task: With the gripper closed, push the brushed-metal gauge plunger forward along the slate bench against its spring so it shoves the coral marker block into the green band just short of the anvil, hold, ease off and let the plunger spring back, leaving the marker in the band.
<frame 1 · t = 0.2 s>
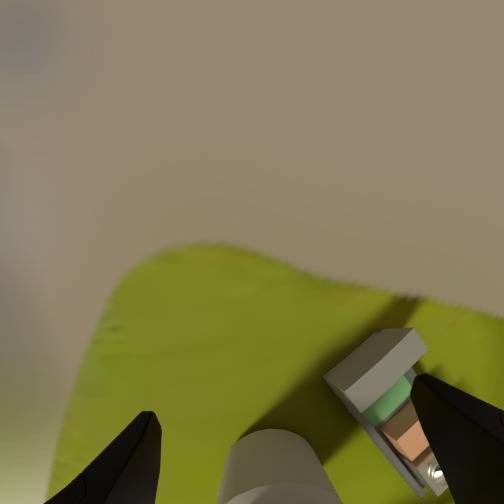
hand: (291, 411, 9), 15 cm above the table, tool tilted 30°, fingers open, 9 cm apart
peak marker: (404, 423, 21), resting on gauge bench
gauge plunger: (437, 459, 18), point 3 cm above the table, slide at 0.0 cm
gauge bench: (402, 423, 21), on the table
can: (270, 462, 21), on the table
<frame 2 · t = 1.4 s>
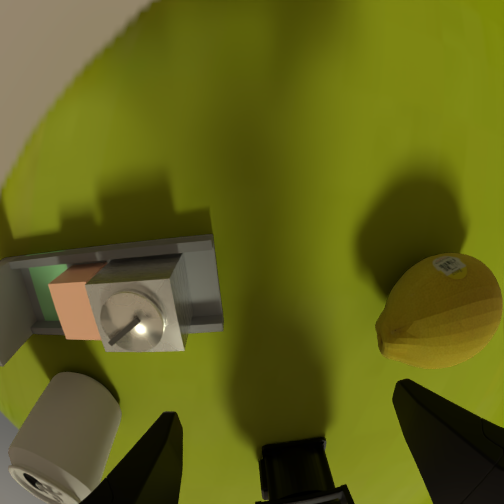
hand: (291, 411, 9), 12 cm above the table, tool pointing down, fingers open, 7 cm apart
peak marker: (95, 290, 20), resting on gauge bench
lemon: (414, 286, 22), on the table
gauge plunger: (142, 304, 17), point 3 cm above the table, slide at 0.0 cm
gauge bench: (97, 288, 20), on the table
can: (88, 395, 23), on the table
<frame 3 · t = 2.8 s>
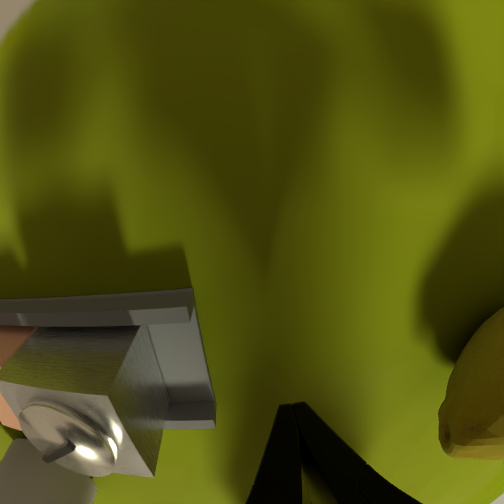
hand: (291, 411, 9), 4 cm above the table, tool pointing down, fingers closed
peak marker: (34, 356, 11), resting on gauge bench
lemon: (477, 339, 13), on the table
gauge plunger: (85, 401, 9), point 3 cm above the table, slide at 0.0 cm
gauge bench: (36, 353, 12), on the table
can: (56, 460, 15), on the table
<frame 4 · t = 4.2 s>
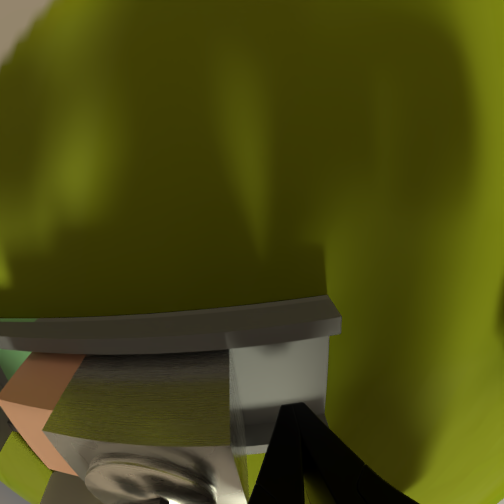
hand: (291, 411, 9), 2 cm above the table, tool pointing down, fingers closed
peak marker: (82, 385, 10), resting on gauge bench
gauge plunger: (160, 441, 8), point 3 cm above the table, slide at 1.4 cm, touching gripper
gauge bench: (101, 382, 11), on the table
can: (103, 488, 14), on the table
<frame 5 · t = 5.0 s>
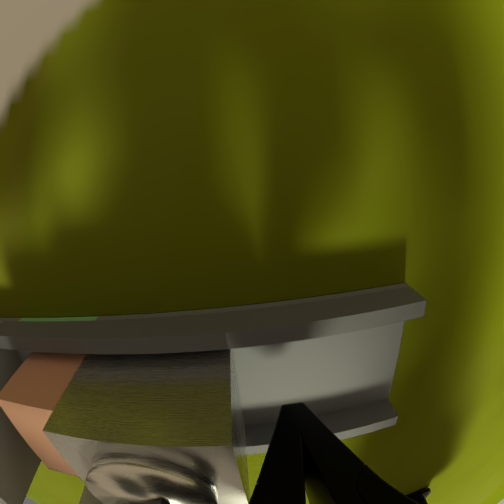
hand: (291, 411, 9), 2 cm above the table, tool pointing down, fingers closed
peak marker: (82, 385, 10), resting on gauge bench
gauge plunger: (160, 441, 8), point 3 cm above the table, slide at 4.4 cm, touching gripper
gauge bench: (169, 382, 11), on the table
can: (141, 494, 14), on the table
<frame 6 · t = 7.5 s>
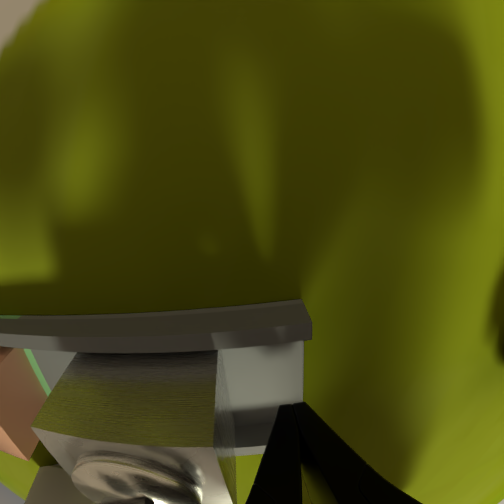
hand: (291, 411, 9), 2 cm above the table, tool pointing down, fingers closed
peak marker: (16, 375, 10), resting on gauge bench
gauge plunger: (148, 440, 8), point 3 cm above the table, slide at 0.8 cm
gauge bench: (82, 379, 10), on the table
can: (90, 484, 14), on the table
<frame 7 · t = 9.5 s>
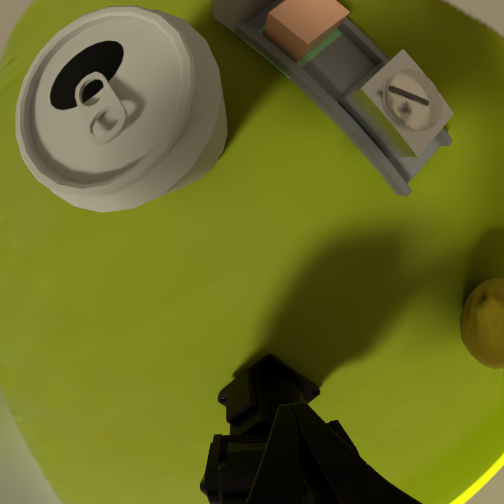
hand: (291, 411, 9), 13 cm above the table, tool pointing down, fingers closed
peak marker: (299, 33, 16), resting on gauge bench
lemon: (473, 303, 24), on the table
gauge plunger: (397, 105, 15), point 3 cm above the table, slide at 0.8 cm
gauge bench: (340, 72, 17), on the table
can: (171, 132, 18), on the table
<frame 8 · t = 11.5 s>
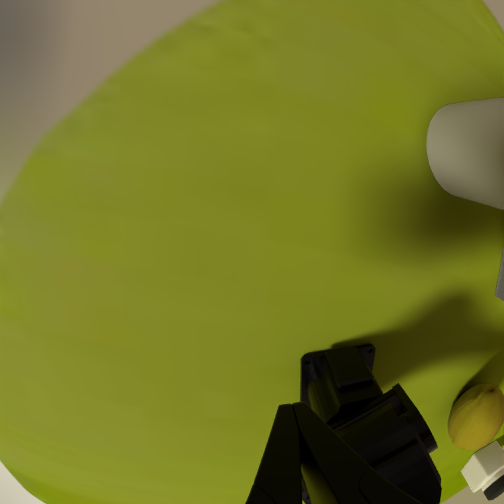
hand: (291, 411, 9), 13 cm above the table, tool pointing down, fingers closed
lemon: (462, 396, 28), on the table
can: (453, 149, 19), on the table
medicine bottle: (478, 455, 37), on the table
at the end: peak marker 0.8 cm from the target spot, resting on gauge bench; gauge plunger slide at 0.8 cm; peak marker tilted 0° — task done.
